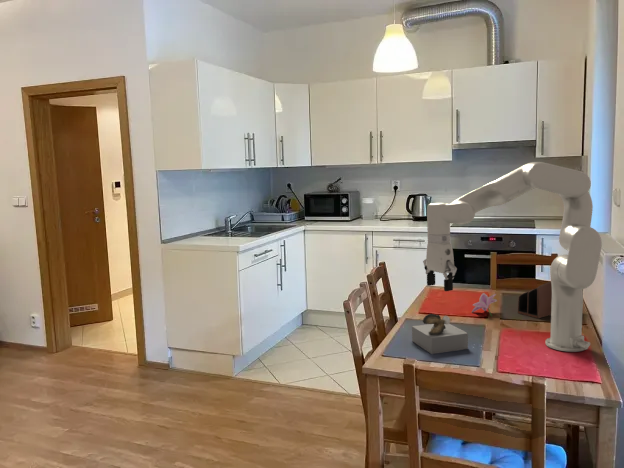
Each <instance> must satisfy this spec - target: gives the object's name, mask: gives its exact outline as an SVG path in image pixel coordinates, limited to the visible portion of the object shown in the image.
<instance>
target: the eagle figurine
mask: <svg viewBox="0 0 624 468" xmlns="http://www.w3.org/2000/svg"><path fill="white" fill-rule="evenodd" d="M422 323H423V325H427V324H434V325H433V326H432V327H431V331H430V332H428V333H429V334H430V335H439V334H441V333H442V331H443V330H444V329H445V328H446V327H445V325H444V324H451V318H450V317H449V316H448V315H443V317H441V316H440V315H439V314H434V313H429V314H427V315H425V316H424V318H423V319H422Z"/></svg>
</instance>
